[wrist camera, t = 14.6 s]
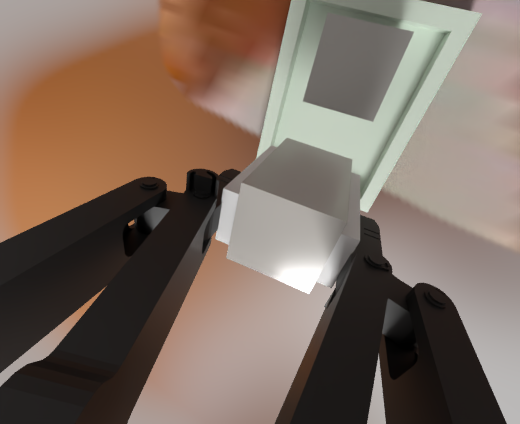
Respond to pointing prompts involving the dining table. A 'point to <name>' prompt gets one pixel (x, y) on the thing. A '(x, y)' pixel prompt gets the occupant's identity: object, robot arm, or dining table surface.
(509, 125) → the dining table surface
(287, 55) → the bin
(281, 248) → the stone
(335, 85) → the stone
